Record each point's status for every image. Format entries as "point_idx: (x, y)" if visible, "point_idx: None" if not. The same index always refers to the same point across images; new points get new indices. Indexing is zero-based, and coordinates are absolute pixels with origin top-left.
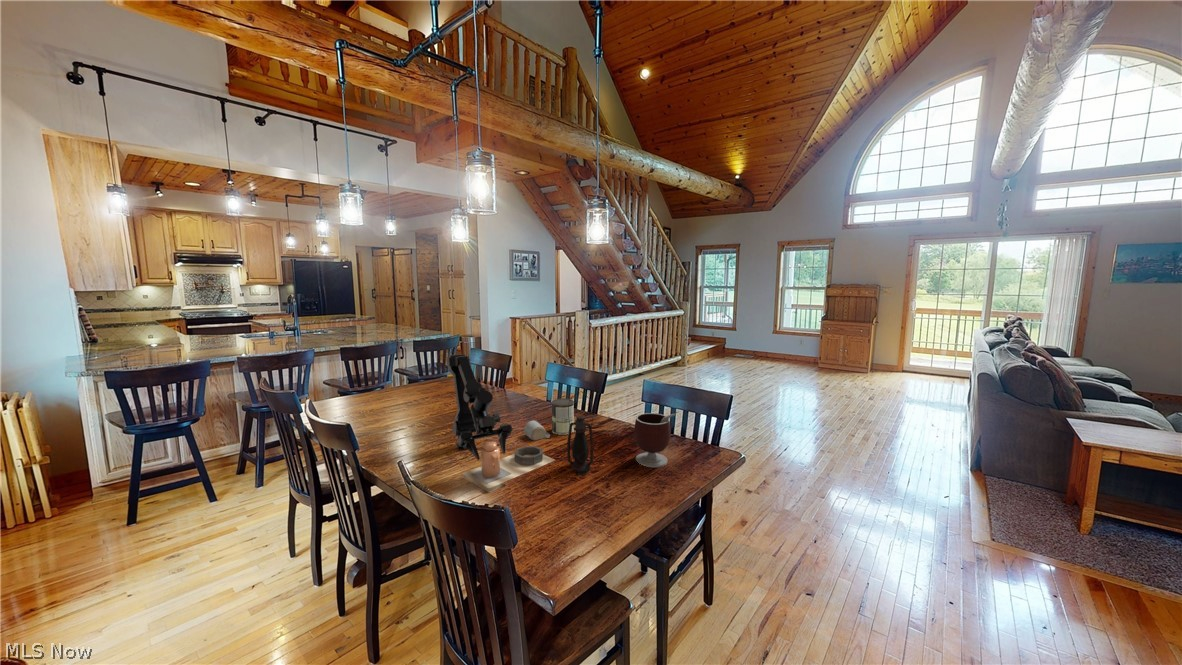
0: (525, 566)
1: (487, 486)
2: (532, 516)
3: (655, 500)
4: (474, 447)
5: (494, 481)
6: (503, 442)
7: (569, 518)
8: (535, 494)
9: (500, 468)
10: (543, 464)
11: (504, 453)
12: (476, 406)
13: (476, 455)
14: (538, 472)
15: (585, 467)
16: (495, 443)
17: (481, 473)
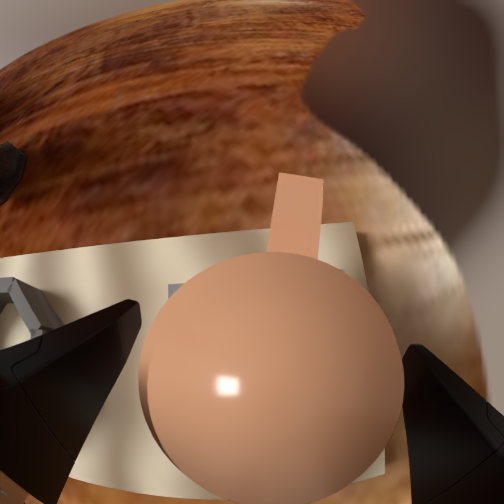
0: (360, 18)
1: (351, 243)
2: (283, 58)
3: (77, 37)
4: (495, 422)
5: None
6: (48, 350)
7: (219, 31)
8: (198, 117)
9: None
10: (19, 261)
11: (135, 302)
12: None
13: (446, 368)
14: None
15: (5, 142)
16: (184, 336)
17: None
